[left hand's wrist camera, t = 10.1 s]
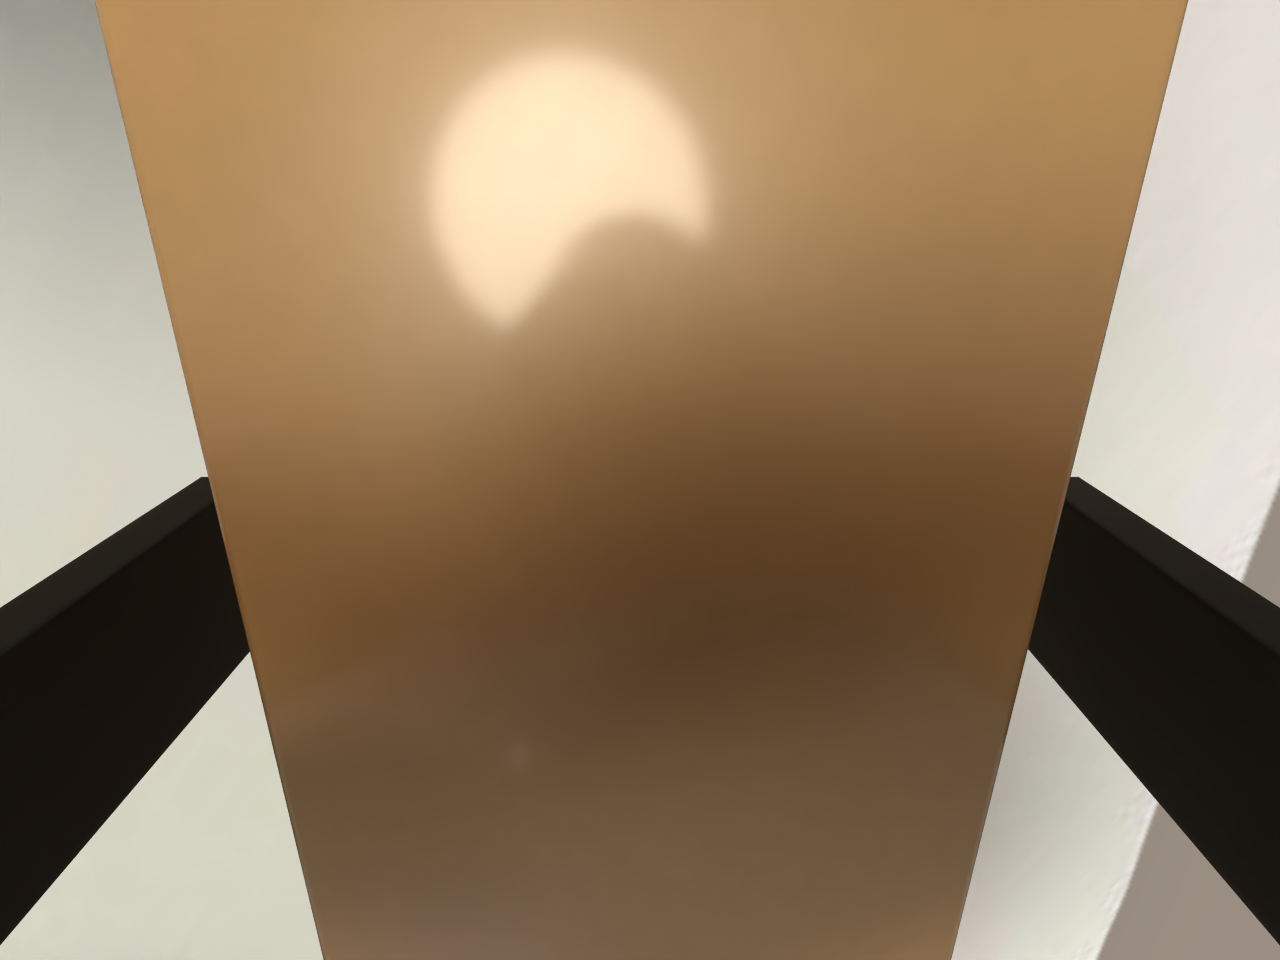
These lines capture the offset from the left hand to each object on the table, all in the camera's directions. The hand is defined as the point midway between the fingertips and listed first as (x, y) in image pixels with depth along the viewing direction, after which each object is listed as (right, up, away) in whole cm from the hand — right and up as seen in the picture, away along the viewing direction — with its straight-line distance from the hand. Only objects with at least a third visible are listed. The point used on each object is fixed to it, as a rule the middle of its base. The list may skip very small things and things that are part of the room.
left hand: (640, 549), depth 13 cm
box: (0, +9, -1) cm, 9 cm away
